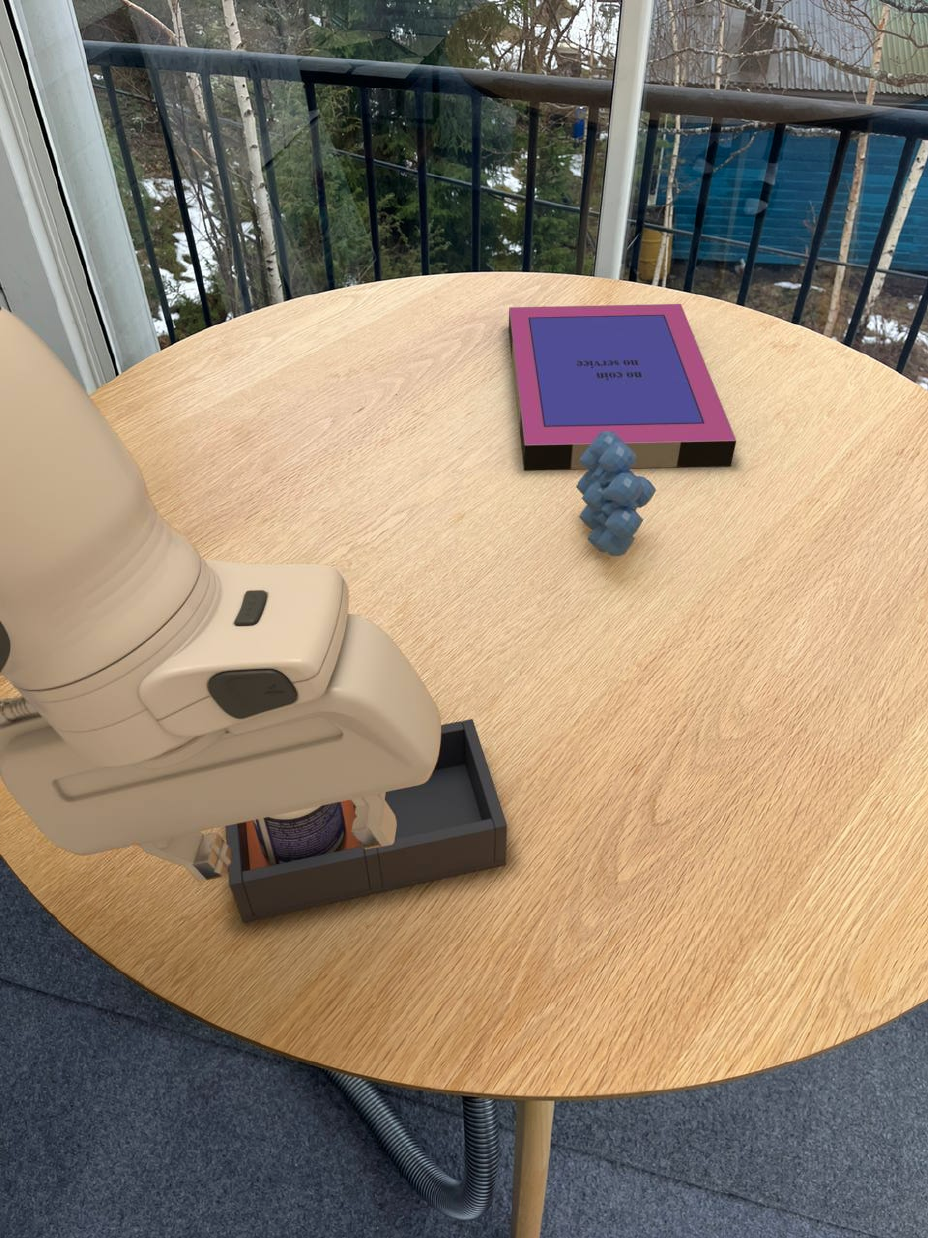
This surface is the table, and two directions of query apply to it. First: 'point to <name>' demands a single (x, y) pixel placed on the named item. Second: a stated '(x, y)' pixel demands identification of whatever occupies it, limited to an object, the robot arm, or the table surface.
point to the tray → (422, 850)
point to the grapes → (612, 494)
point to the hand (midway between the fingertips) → (298, 853)
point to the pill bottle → (301, 833)
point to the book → (614, 386)
